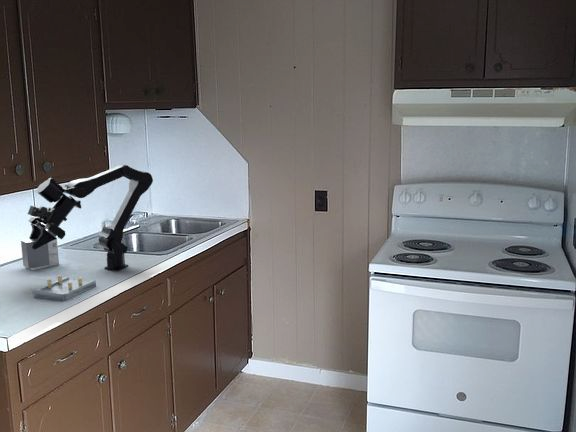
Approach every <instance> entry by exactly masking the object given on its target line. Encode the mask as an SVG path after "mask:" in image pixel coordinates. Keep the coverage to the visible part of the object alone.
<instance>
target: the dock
mask: <svg viewBox="0 0 576 432" xmlns="http://www.w3.org/2000/svg"><path fill="white" fill-rule="evenodd" d="M46 283H47V284H46V285H44V286H41V287H39V288H37V289H33V290H32V294H33V295H32V296H33V298H39V299H45V300H54V301H60V302H61V301H63V302H65V301H68V300H69V299H71V298H73V297H76V296H78V295H80V294H81V293H84V292H85V291H88V290H90V289H93V288H94V287H96V285H97V284H96V283H97V281H96V280H95V279H91V280H90V281H86V280H83V277H77V279H70V277H69V276H65V277H63V278H62V274H60V275H59V274H58V275H57V280H56V281H55V280H54V281H53V282H52V279H47V280H46Z"/></svg>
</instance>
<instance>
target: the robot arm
mask: <svg viewBox="0 0 576 432" xmlns="http://www.w3.org/2000/svg"><path fill="white" fill-rule="evenodd" d="M123 177H124V178H126V179H128V180H129V182H128V191H127V193H126V196H125V197H124V199H123V201H122V203H121V205H120V207H119V209H118V211H117V212H116V214H115V217H114V218H113V220H112V222H111V224H110V225H108V226H105V225H104V226H103V227H102V229H101V232H100V233H99V234H98V243H99V246H101V247H102V248H103V251H105V252H107V253H106V266H104V267H103V268H104V270H111V271H120V270H123V269H125V268H127V267H129V264H125V263H126V260H125V254H126V253H127V251H128V246H127V245H125V244H124V243H123V239H124V229H125V227H126V225H127V224H128V221H129V219H130V218H131V215H132V213H133V212H134V209H135V208H136V206H137V205H138V204H137V203H138V202H139V200H140V198H141V196H142V195H143V194H145V193H146V192H147V191H148V190H149V189H150V187H151V186H152V184H153V181H154V178H153V175H152V174H151V173H150V172H147V171H141V170H137V169H135V168H133V167H130V166H129V165H127V164H119V165H117V166H114V167H112V168H110V169H108V170H106V171H102V172H99V173H98V174H95V175H93V176H90V177H83V178H78V179H74V180H71V181H69V182H68V184H64V185H60V184H59V183H57V181H56V180H55V179H54V178H52V177H49V178H48V179H47V180H44V182H42V183H40V184H39V186H38V187H37V189H36V193H37V194H38V195H40V196H41V197H42V198H43V199H44V200H46V201H47V202H48V203H50V204H51V203H54V204H53V205H52V207H46V206H42V205H40V206H39V207H37V206H34V205H30V206H29V209H28V212H27V215H30V216H31V217H29V219H28V222H29V223H30V226H31V233H30V235H29V237H28V239H31V238H37V237H38V239H37V240H36V242H35V244H34V245H33V247H32V248H33V249H37V248H39V247H41V246H43V245H45V244H47V243H49V242H51V241H53V240H55V239H57V240H58V239H60V240H63V239H64V238H65V236H66V231H65V230H64V229H63V228H61V227H60V225H61V224H62V223H63V222H66V221H67V220H68V218H67V217H68V215H70V213H71V212H72V211H73V209H74V208H77V209H82V204H81V203H82V201H81V200H79V199H84V198H86V197H88V196H89V195H90V194H92V193H93V192H94V191H95V190H96V189H97V188H100V187H103V186H104V185H107V184H109V183H112V182H114V181H116V180H118V179H121V178H123ZM66 194H67V195H66ZM75 198H78V199H75Z"/></svg>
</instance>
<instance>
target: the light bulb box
mask: <svg viewBox="0 0 576 432" xmlns="http://www.w3.org/2000/svg"><path fill="white" fill-rule="evenodd" d="M58 248H59V247H58V238H57V239H55V240H53V241H51V242H49V243H48V252H49V263H50V265H46V266H41V267H36V268H31V269H30V270H31V271H36V270H37V271H38V270H41V269H46V268H50V267H53V266H57V265H60V257H59V249H58Z"/></svg>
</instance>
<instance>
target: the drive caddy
mask: <svg viewBox="0 0 576 432" xmlns="http://www.w3.org/2000/svg"><path fill="white" fill-rule="evenodd" d="M37 239H38V237H37V238H31V239H29V238H27V239H26V238H25V239H20V244H21V246H20V247H21V254H22V255H21V256H22V265H23V267H24V268H26V269H28V270H31V268H36V267H41V266H46V265H50V263H49V252H48V243H47V244H45V245H43V246H41V247H39V248H37V249H33V248H32V247H33V245H34V244H35V242H36V240H37Z"/></svg>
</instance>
